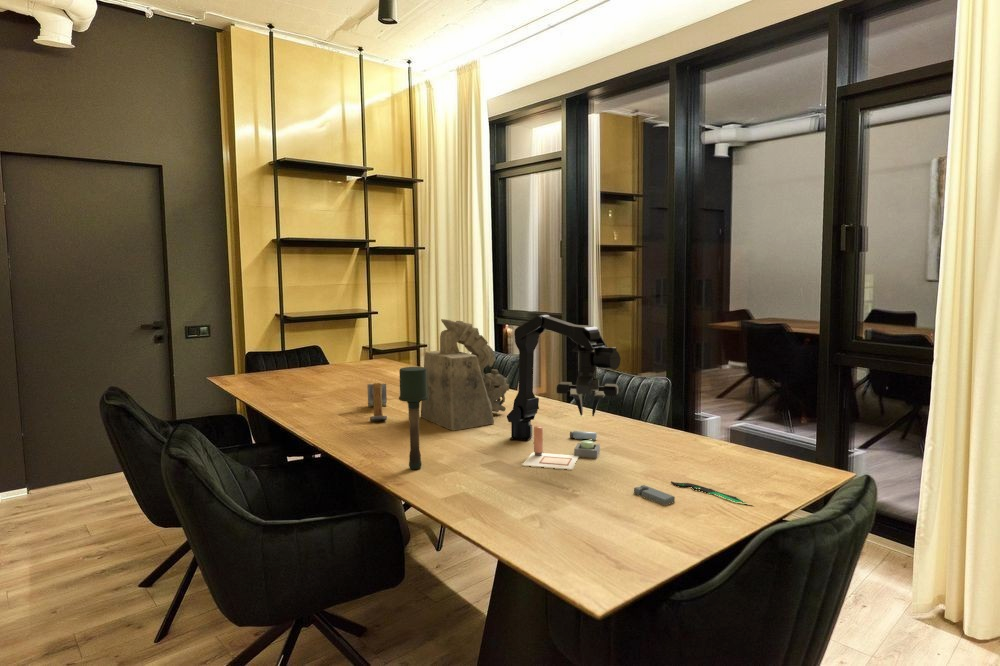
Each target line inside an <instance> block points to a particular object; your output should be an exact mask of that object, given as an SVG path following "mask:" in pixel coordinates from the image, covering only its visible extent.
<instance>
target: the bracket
mask: <svg viewBox="0 0 1000 666" xmlns="http://www.w3.org/2000/svg"><path fill="white" fill-rule="evenodd" d="M634 493H635V494H634ZM633 494H634V495H636V494H637V495H636V496H639V495H640V496H641V497H642V498H644V497H645V498H644V499H646V498H647V500H649V499H650V501H651V500H653V501H652V502H654V501H655V503H657V502H658V503H657V504H659V503H660V504H659V505H662V504H663V505H662V506H667V505H666V504H668V505H670V504H669V503H671V504H673V503H672V502H674V503H675V498H676V497H675V496H674V495H672V494H669V493H666V492H663V491H661V490H658V489H656V488H653V487H651V486H648V485H645V484H643V485H640V486H636V487H633Z"/></svg>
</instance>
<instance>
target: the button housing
mask: <svg viewBox="0 0 1000 666" xmlns="http://www.w3.org/2000/svg"><path fill="white" fill-rule="evenodd" d="M599 452H600V453H601V444H599V443H598V444H597V443H596V444H595V443H594V449H581V442H578V443H577V444H576V446H575V447H574V453H573V454H574V456H579V458H584V457H588V459H596V458H597V459H598V457H599V455H600V453H599ZM598 454H599V455H598Z"/></svg>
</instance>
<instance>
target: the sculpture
mask: <svg viewBox="0 0 1000 666" xmlns="http://www.w3.org/2000/svg"><path fill="white" fill-rule="evenodd" d="M440 321H441V323H442V324H443V325H444V327H445V328H446V329H444V330H442V331H441V332H440V335H439V350H432V351H429V350H428V351H425V352H424V361H423V367H424V368H426V369H427V395H428V399H427V400H423V401H420V405H421V406H420V418H422V419H424V420H427V421H428V420H429V422H431V423H433V424H435V423H436V425H438V426H440V427H442V426H443V428H444V429H447V430H449V429H450V431H455V430H456V431H461V430H467V429H472V428H477V427H483V426H490V425H493V424H495V418H494V415H493V412H495V413H499V411H501V412H505V411H506V406H504V403H506V402H505V401H506V395H505V394H506V393H507V392H509V391H510V384H509V383H507V382H508V380H509V379H508V378H507V377H504V375H503V374H500V373H499V370H498V369H495V368H492V369H491V370H490V371H491V372H490V373H486V374H485V372H484V370H485V368H487V367H490V368H491V367H493V366H494V363H495V362H496V360H497V359H496V358H495V353H494V350H493V348H492V347H491V346H490V345H489V342H488V341H487V339H486V338H485V337H484V336H483V335H481V334H480V332H479V328H478V327H474V326H473V324H472V323H470V322H469V323H468V322H464V321H461V320H456V321H454V320H450V319H445V318H441V319H440ZM458 344H460V345H462V346H463V347H464V348H465V349H466V350H467V351H468V352H469V353H468V352H467V353H466V352H463V351H460V350H459V346H458Z"/></svg>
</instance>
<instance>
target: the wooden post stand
mask: <svg viewBox="0 0 1000 666" xmlns="http://www.w3.org/2000/svg"><path fill="white" fill-rule="evenodd" d="M366 388H367V407H368V408H373V416H370V417H369V421H371V422H373V421H372V420H377V421H386V420H387V421H388V416H387V415H383V407H387V402H388V401H387V397H388V396H387V384H386V383H379V382H377V383H370V384H367V387H366Z"/></svg>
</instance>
